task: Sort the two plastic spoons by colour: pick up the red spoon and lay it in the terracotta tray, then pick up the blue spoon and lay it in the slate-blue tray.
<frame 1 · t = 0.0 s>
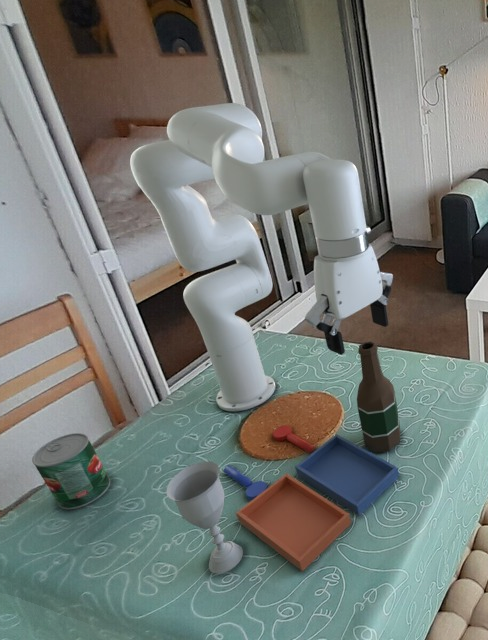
hand: (359, 337, 84), 31 cm above the table, tool pointing down, fingers open, 9 cm apart
beer bottle: (383, 441, 105), on the table
canned tomato: (85, 492, 95), on the table
terracotta tray: (295, 523, 88), on the table
chalice: (226, 559, 82), on the table
red spoon: (294, 441, 105), on the table
blue tray: (348, 476, 97), on the table
blue spoon: (245, 484, 96), on the table
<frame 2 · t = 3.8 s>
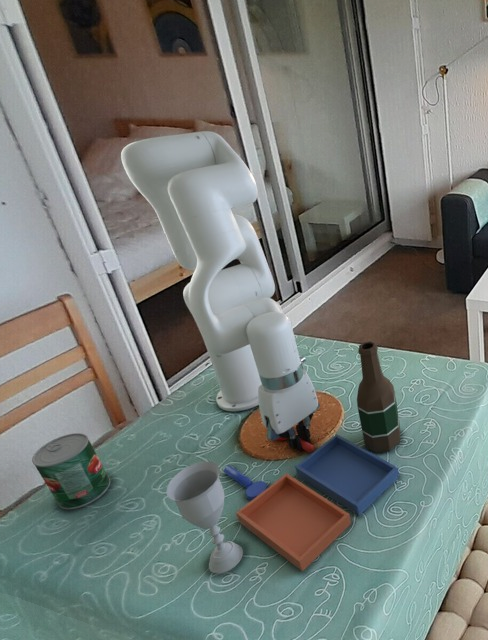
hand: (301, 445, 104), 0 cm above the table, tool pointing down, fingers closed on red spoon, 1 cm apart
red spoon: (294, 441, 105), on the table, touching gripper
everything else where it was.
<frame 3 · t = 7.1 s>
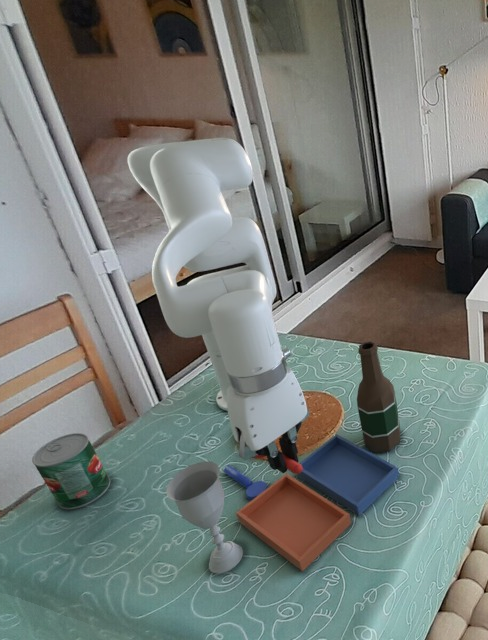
hand: (285, 463, 81), 15 cm above the table, tool pointing down, fingers closed on red spoon, 1 cm apart
red spoon: (277, 459, 82), point 14 cm above the table, touching gripper
everything else where it was.
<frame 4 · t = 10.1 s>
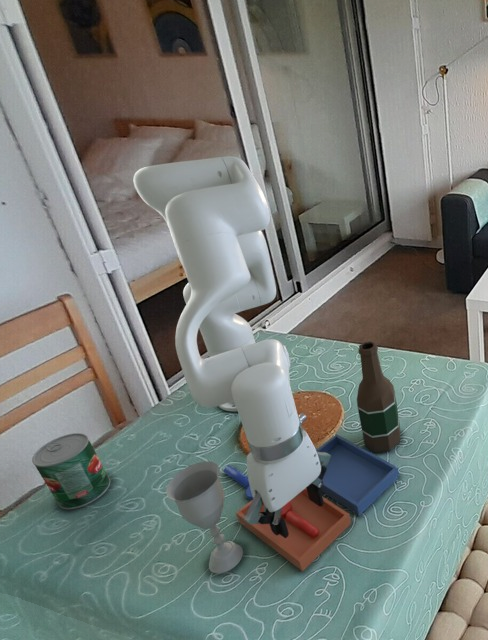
hand: (299, 516, 85), 3 cm above the table, tool pointing down, fingers open, 6 cm apart
red spoon: (294, 521, 88), resting on terracotta tray
everything else where it was.
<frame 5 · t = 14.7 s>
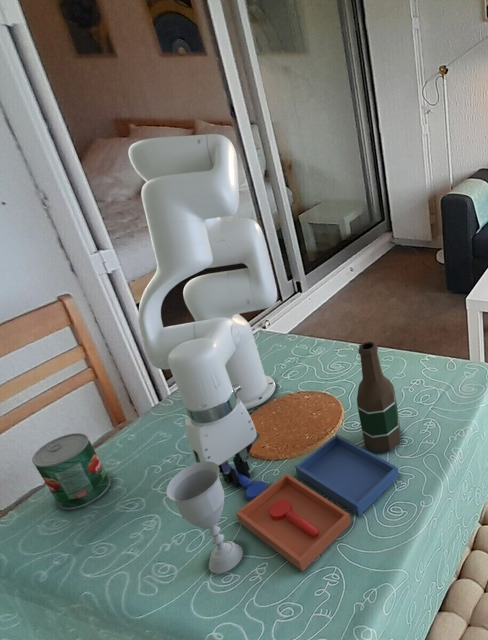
hand: (238, 478, 97), 0 cm above the table, tool pointing down, fingers closed on blue spoon, 1 cm apart
blue spoon: (245, 484, 96), on the table, touching gripper
everything else where it was.
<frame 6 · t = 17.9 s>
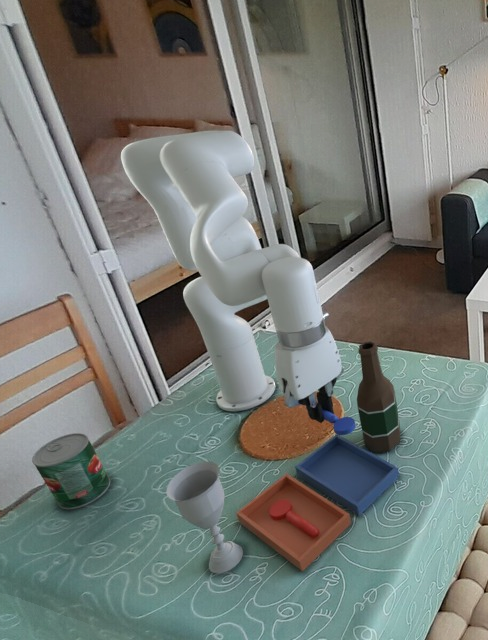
hand: (322, 415, 91), 14 cm above the table, tool pointing down, fingers closed on blue spoon, 1 cm apart
blue spoon: (330, 420, 90), point 14 cm above the table, touching gripper
everything else where it was.
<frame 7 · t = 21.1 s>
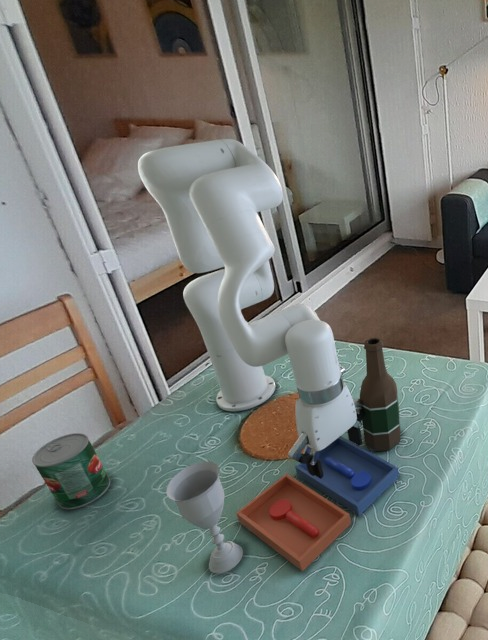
hand: (337, 457, 96), 4 cm above the table, tool pointing down, fingers open, 9 cm apart
beer bottle: (383, 440, 105), on the table, touching gripper
blue spoon: (347, 474, 97), resting on blue tray
everything else where it was.
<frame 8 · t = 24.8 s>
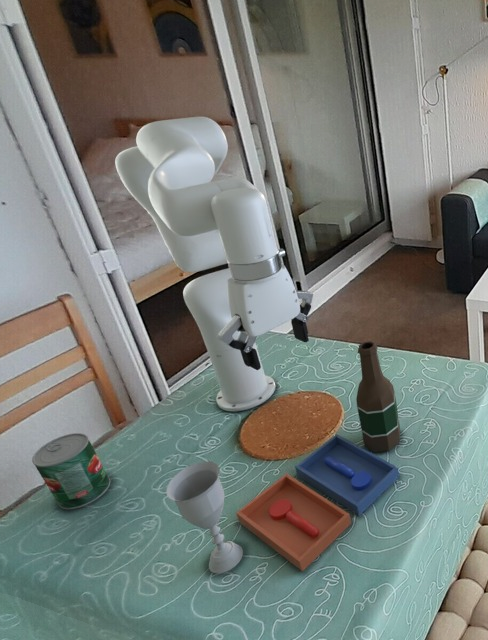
hand: (279, 352, 89), 26 cm above the table, tool pointing down, fingers open, 9 cm apart
beer bottle: (383, 441, 105), on the table
everything else where it was.
at the end: red spoon inside the target area in the terracotta tray (0.0 cm from its centre), point 0.5 cm above the terracotta tray's base; blue spoon inside the target area in the blue tray (0.0 cm from its centre), point 0.5 cm above the blue tray's base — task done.
